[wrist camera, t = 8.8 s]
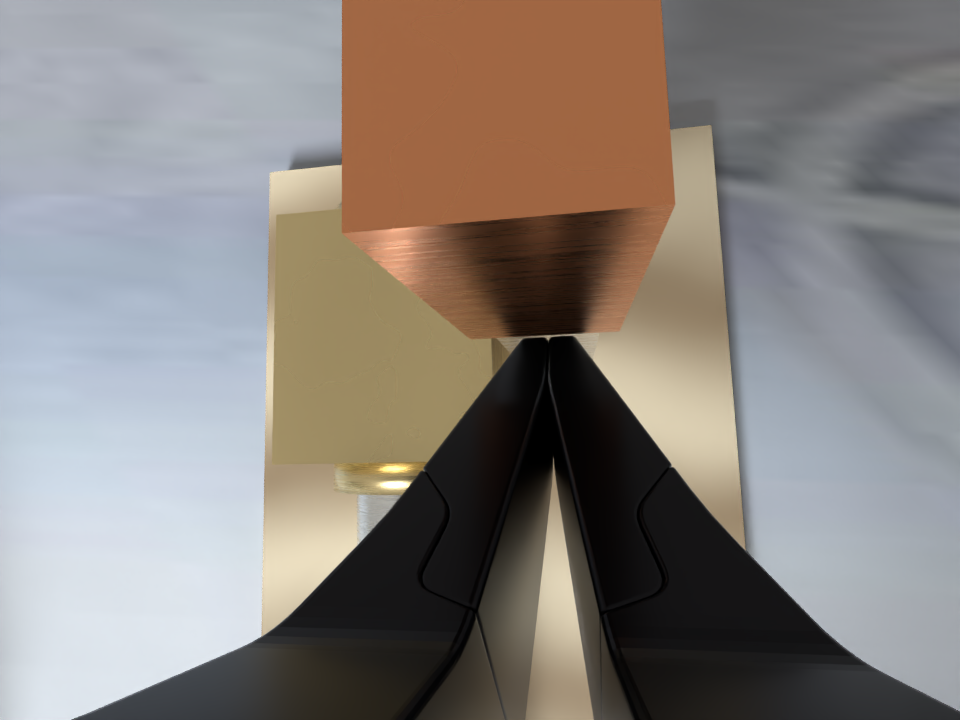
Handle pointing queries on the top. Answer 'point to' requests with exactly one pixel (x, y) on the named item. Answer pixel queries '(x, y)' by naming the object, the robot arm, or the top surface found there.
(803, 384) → the top surface
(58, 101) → the top surface
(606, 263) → the valve lever
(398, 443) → the valve pipe
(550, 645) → the mounting board
